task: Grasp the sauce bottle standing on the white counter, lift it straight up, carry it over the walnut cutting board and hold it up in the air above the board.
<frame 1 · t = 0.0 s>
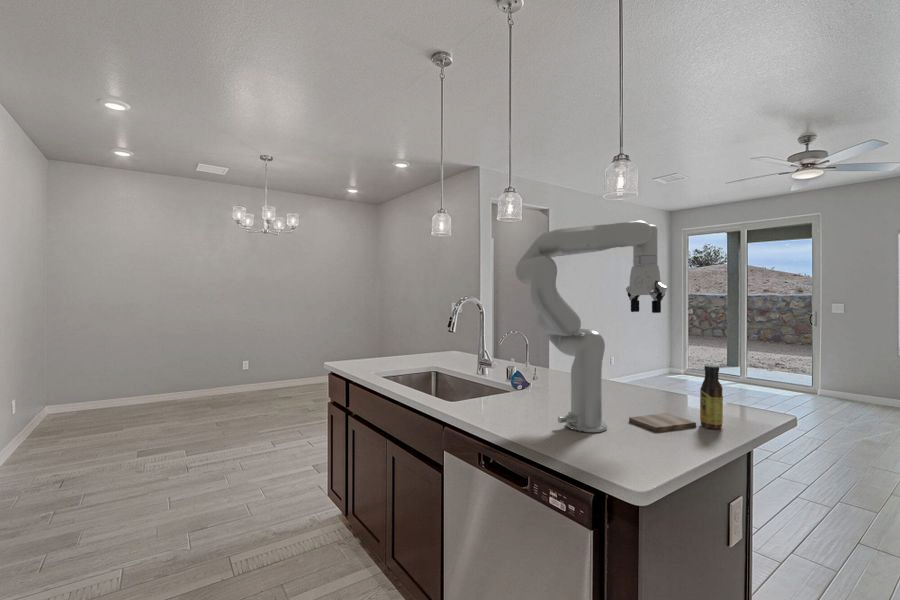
hand: (645, 312, 149), 37 cm above the table, tool pointing down, fingers open, 9 cm apart
sauce bottle: (711, 427, 141), on the table
walnut board: (661, 424, 144), on the table
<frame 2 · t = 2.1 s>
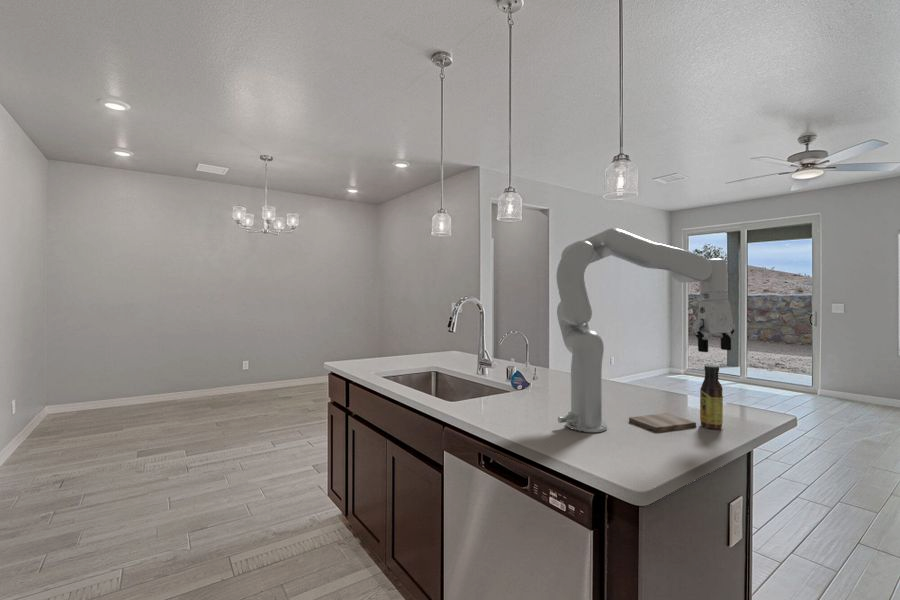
hand: (714, 350, 140), 25 cm above the table, tool pointing down, fingers open, 9 cm apart
nothing on the table moved.
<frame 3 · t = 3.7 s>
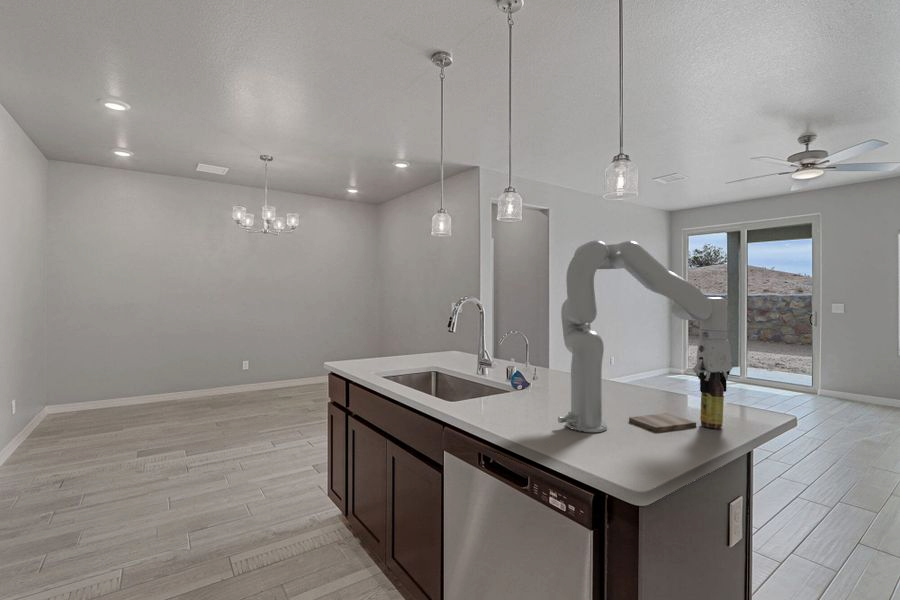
hand: (713, 391, 140), 12 cm above the table, tool pointing down, fingers closed on sauce bottle, 6 cm apart
sauce bottle: (711, 427, 141), on the table, touching gripper
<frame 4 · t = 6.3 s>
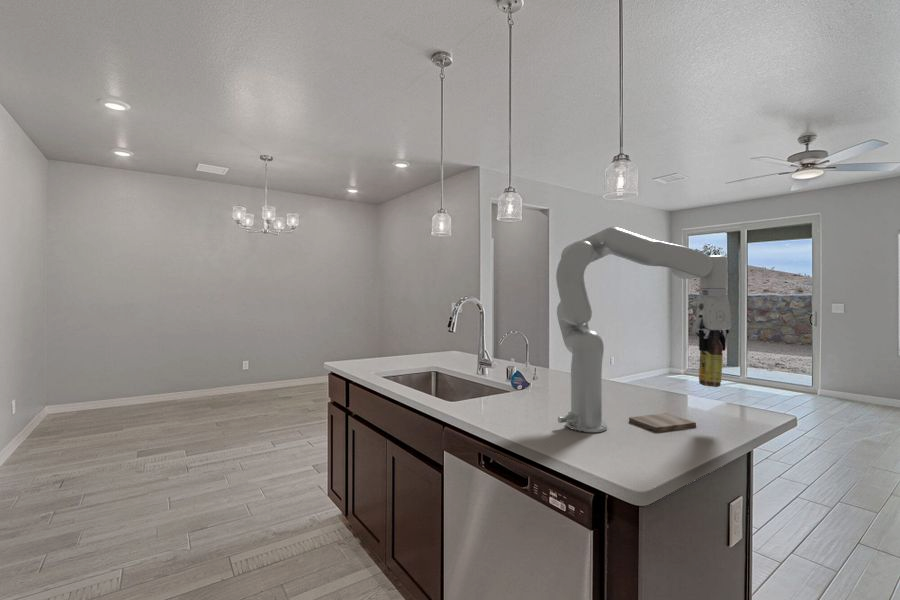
hand: (712, 349, 140), 25 cm above the table, tool pointing down, fingers closed on sauce bottle, 6 cm apart
sauce bottle: (709, 386, 141), point 13 cm above the table, touching gripper
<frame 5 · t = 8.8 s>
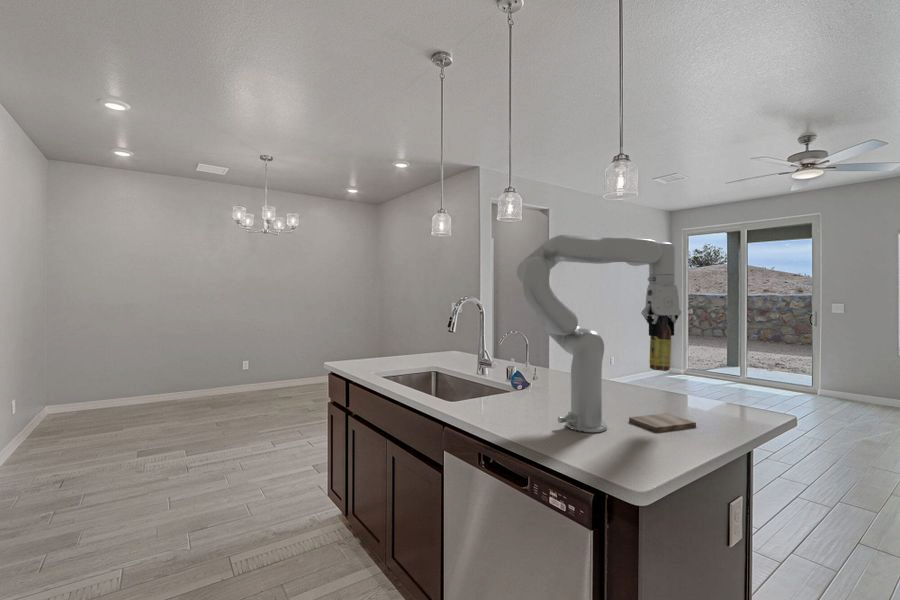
hand: (661, 335, 144), 29 cm above the table, tool pointing down, fingers closed on sauce bottle, 6 cm apart
sauce bottle: (659, 370, 144), point 18 cm above the table, touching gripper
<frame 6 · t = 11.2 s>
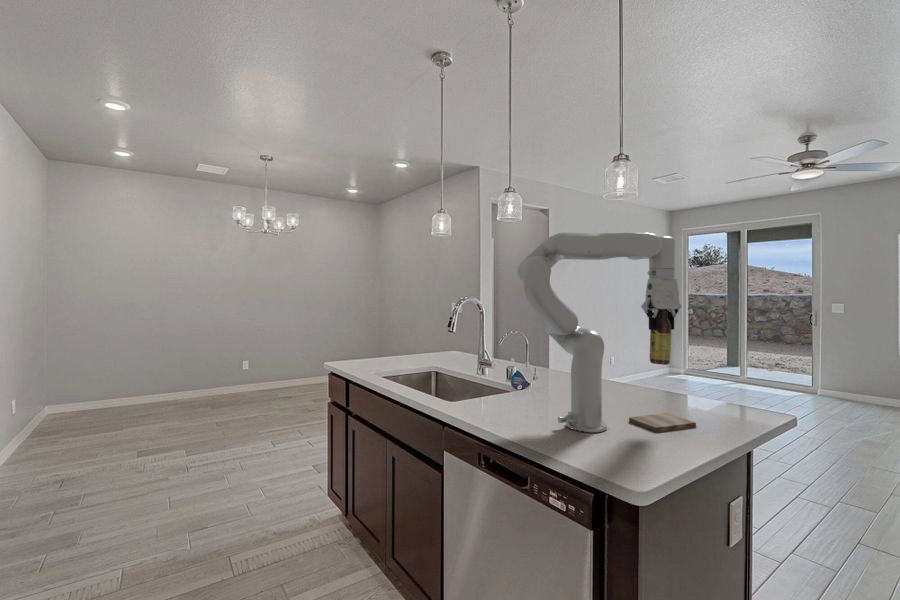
hand: (661, 329, 144), 31 cm above the table, tool pointing down, fingers closed on sauce bottle, 6 cm apart
sauce bottle: (659, 364, 144), point 20 cm above the table, touching gripper
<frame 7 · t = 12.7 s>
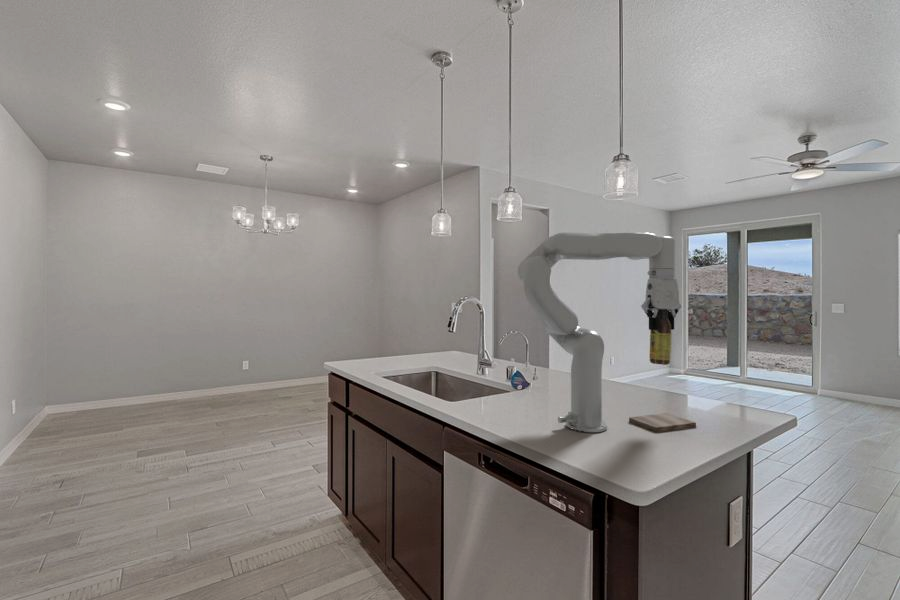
hand: (661, 329, 144), 31 cm above the table, tool pointing down, fingers closed on sauce bottle, 6 cm apart
sauce bottle: (659, 364, 144), point 20 cm above the table, touching gripper
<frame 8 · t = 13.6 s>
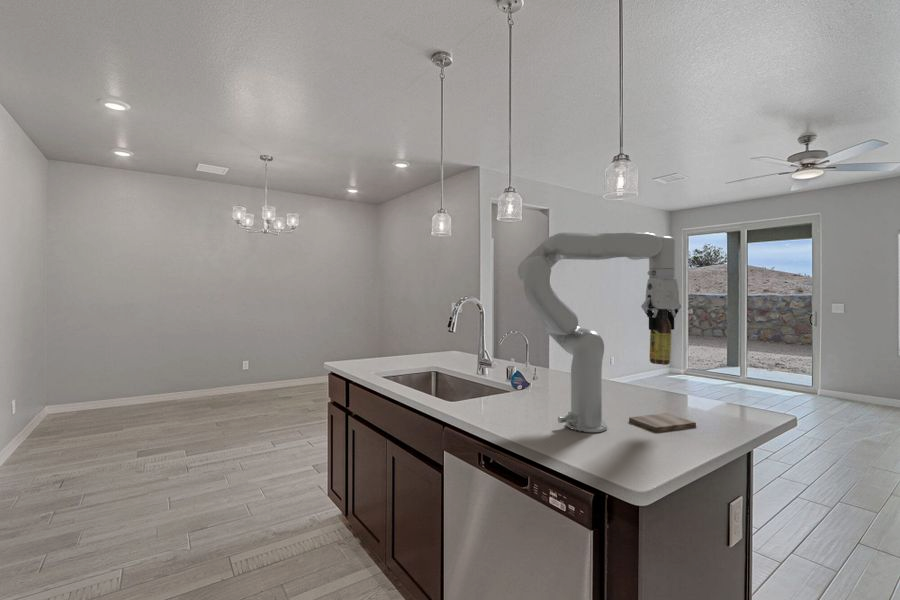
hand: (661, 329, 144), 31 cm above the table, tool pointing down, fingers closed on sauce bottle, 6 cm apart
sauce bottle: (659, 364, 144), point 20 cm above the table, touching gripper
at the end: the gripper is holding sauce bottle; sauce bottle inside the target area on the walnut board (0.6 cm from its centre), point 19.7 cm above the walnut board's base; sauce bottle tilted 2° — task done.
